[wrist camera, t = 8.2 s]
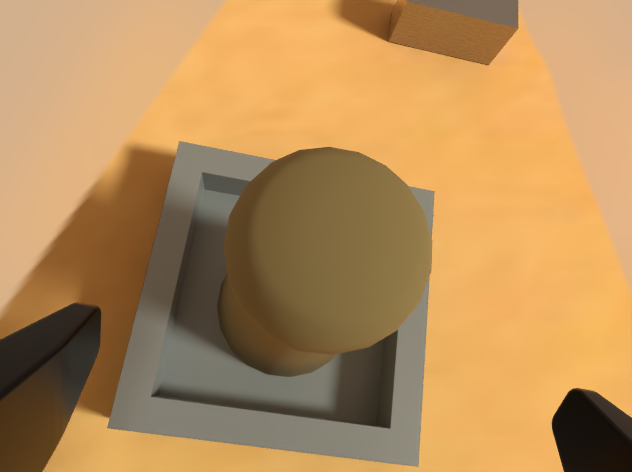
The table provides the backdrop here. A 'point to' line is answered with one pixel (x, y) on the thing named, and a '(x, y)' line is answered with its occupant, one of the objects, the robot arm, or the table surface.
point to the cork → (320, 260)
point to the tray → (229, 369)
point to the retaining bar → (455, 26)
